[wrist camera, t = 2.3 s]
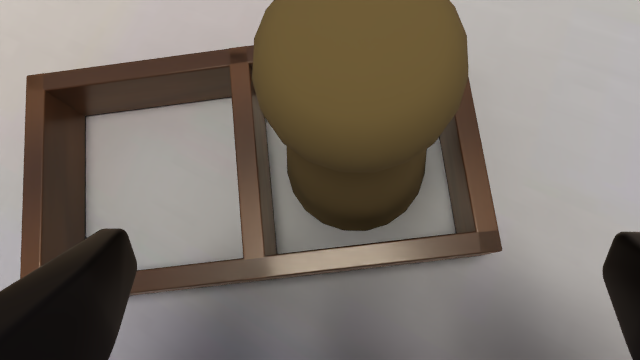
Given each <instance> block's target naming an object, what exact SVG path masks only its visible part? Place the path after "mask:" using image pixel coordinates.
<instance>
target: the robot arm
mask: <svg viewBox="0 0 640 360" xmlns="http://www.w3.org/2000/svg"><path fill="white" fill-rule="evenodd" d="M136 271H137V262H136V258H135V255H134V252H133V249H132V246H131V243H130V240H129V237H128V235H127V233H126V231H125V230H123V229H101V230H99V231H98V232H96V233H94V234H93V235H91V236H90V237H88V238H86V239H85V240H83V241H81V242H80V243H78V244H77V245H75V246H73V247H72V248H70V249H68V250H67V251H65V252H64V253H62V254H60V255H59V256H57V257H55V258H54V259H52V260H50V261H49V262H47V263H46V264H44V265H42V266H41V267H39V268H37V269H36V270H34V271H33V272H31V273H29V274H28V275H26V276H24V277H23V278H21V279H20V280H18V281H16V282H15V283H13V284H11V285H10V286H8V287H7V288H5V289H3V290H2V291H0V360H108V359H109V357H110V354H111V352H112V349H113V347H114V344H115V341H116V338H117V335H118V332H119V329H120V325H121V322H122V319H123V315H124V312H125V309H126V305H127V302H128V299H129V296H130V292H131V289H132V286H133V282H134V279H135V276H136ZM603 279H604V282H605V285H606V287H607V290H608V293H609V296H610V299H611V302H612V304H613V307H614V310H615V313H616V316H617V319H618V321H619V324H620V327H621V330H622V333H623V336H624V338H625V341H626V344H627V346H628V349H629V352H630V354H631V357H632V359H633V360H640V232H620V233H618V234H617V235H616V236H615V238H614V240H613V242H612V245H611V247H610V250H609V252H608V255H607V257H606V260H605V262H604V265H603Z"/></svg>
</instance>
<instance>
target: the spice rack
mask: <svg viewBox="0 0 640 360" xmlns="http://www.w3.org/2000/svg"><path fill="white" fill-rule="evenodd" d="M253 53H254V45H253V46H244V47H236V48H229V49H224V50H216V51H209V52H201V53H194V54H186V55H179V56H172V57H164V58H157V59H149V60H142V61H134V62H127V63H119V64H112V65H105V66H97V67H90V68H82V69H75V70H67V71H60V72H53V73H45V74H44V73H43V74H36V75H29V76H27V83H26V115H25V146H24V178H23V210H22V241H21V273H20V279H21V278H23V277H24V276H26V275H28V274H29V273H31V272H33V271H34V270H36V269H37V268H39V267H41V266H42V265H44V264H46V263H47V262H49V261H50V260H52V259H54V258H55V257H57V256H59V255H60V254H62V253H64V252H65V251H67V250H68V249H70V248H72V247H73V246H75V245H77V244H78V243H80V242H81V241H83V240H85V116H88V115H96V114H103V113H111V112H119V111H126V110H134V109H142V108H149V107H157V106H165V105H172V104H180V103H188V102H195V101H203V100H211V99H218V98H226V97H232V108H233V121H234V135H235V149H236V162H237V176H238V190H239V203H240V217H241V231H242V244H243V258H241V259H232V260H223V261H215V262H206V263H198V264H189V265H180V266H172V267H163V268H155V269H146V270H137V271H136V276H135V279H134V282H133V286H132V289H131V292H130V296H132V295H140V294H149V293H158V292H167V291H175V290H184V289H193V288H202V287H210V286H219V285H228V284H237V283H245V282H254V281H263V280H272V279H280V278H289V277H298V276H307V275H315V274H324V273H333V272H342V271H351V270H359V269H368V268H377V267H386V266H394V265H403V264H412V263H421V262H429V261H438V260H447V259H456V258H464V257H473V256H481V255H485V254H490V253H495V252H500V251H502V246H501V241H500V236H499V231H498V226H497V221H496V216H495V210H494V205H493V200H492V195H491V190H490V185H489V180H488V175H487V170H486V164H485V159H484V154H483V149H482V144H481V139H480V134H479V129H478V123H477V118H476V113H475V108H474V103H473V98H472V93H471V88H470V83H469V77H468V80H467V84H466V87H465V90H464V93H463V97H462V100H461V103H460V107H459V109H458V111H457V112H456V114H455V115H454V117H453V118H452V120H451V121H450V122H449V124H448V125H447V126H446V128H445V129H444V131H443V132H442V133H441V135H440V141H441V147H442V153H443V158H444V164H445V170H446V175H447V181H448V187H449V193H450V198H451V204H452V210H453V215H454V221H455V227H456V234H447V235H438V236H430V237H421V238H413V239H404V240H395V241H387V242H378V243H370V244H361V245H352V246H344V247H335V248H327V249H318V250H309V251H301V252H292V253H284V254H277V249H276V237H275V226H274V215H273V204H272V192H271V181H270V170H269V159H268V147H267V136H266V125H265V117H264V115H263V113H262V111H261V109H260V106H259V102H258V99H257V95H256V92H255V89H254V85H253V82H252V70H253Z"/></svg>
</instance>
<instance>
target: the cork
mask: <svg viewBox="0 0 640 360" xmlns="http://www.w3.org/2000/svg"><path fill="white" fill-rule="evenodd" d="M467 80H468V53H467V35H466V33H465V30H464V28H463V25H462V23H461V21H460V18H459V16H458V13H457V11H456V8H455V6H454V5H453V4H452V3H451V2H450V1H449V0H274V1H273V2H272V3H271V4H270V6H269V7H268V8H267V9H266V11H265V13H264V16H263V18H262V21H261V23H260V26H259V28H258V31H257V33H256V35H255V38H254V53H253V70H252V82H253V85H254V89H255V92H256V95H257V99H258V102H259V106H260V109H261V111H262V113H263V115H264V117H265V118H266V120H267V121H268V122H269V124H270V125H271V127H272V128H273V129H274V131H275V132H276V134H277V135H278V137H279V138H280V139H281V141H282V142H283V143H284V144H285V145H286V146H287V173H288V176H289V179H290V183H291V186H292V190H293V193H294V194H295V196H296V197H297V199H298V200H299V201H300V203H301V204H302V206H303V207H304V209H305V210H306V211H307V212H309V213H310V214H311V215H313V216H314V217H315V218H317V219H318V220H319V221H321V222H322V223H324V224H327V225H330V226H333V227H336V228H339V229H342V230H359V231H366V230H370V229H373V228H376V227H379V226H383V225H386V224H388V223H390V222H391V221H392V220H394V219H395V218H397V217H398V216H399V215H401V214H402V213H404V212H405V211H406V210H407V208H408V207H409V206H410V204H411V203H412V202H413V200H414V199H415V197H416V196H417V195H418V193H419V189H420V186H421V183H422V180H423V177H424V173H425V162H426V151H427V148H428V147H430V146H431V145H433V144H434V143H435V141H436V140H437V139H438V137H439V136H440V135H441V133H442V132H443V131H444V129H445V128H446V126H447V125H448V124H449V122H450V121H451V120H452V118H453V117H454V115H455V114H456V112H457V111H458V109H459V107H460V103H461V100H462V97H463V93H464V90H465V87H466V84H467Z"/></svg>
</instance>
